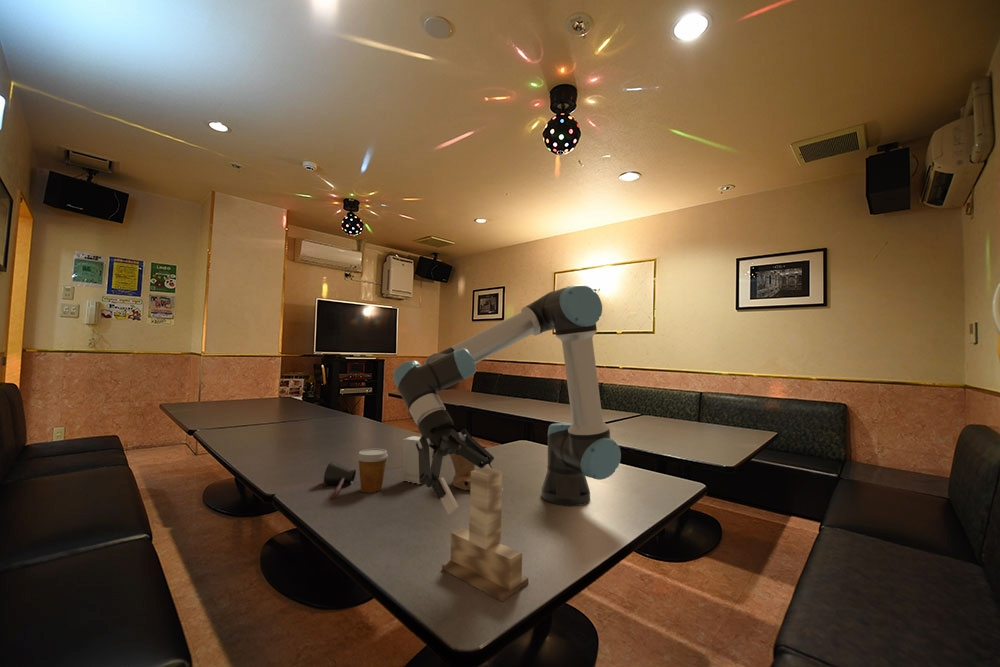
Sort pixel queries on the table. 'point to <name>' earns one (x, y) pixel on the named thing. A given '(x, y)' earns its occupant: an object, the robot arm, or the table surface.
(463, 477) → the tan upright curved piece
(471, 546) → the ridge
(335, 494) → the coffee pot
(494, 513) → the block
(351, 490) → the table surface
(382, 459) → the disposable coffee cup
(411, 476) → the skincare box
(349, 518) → the table surface
